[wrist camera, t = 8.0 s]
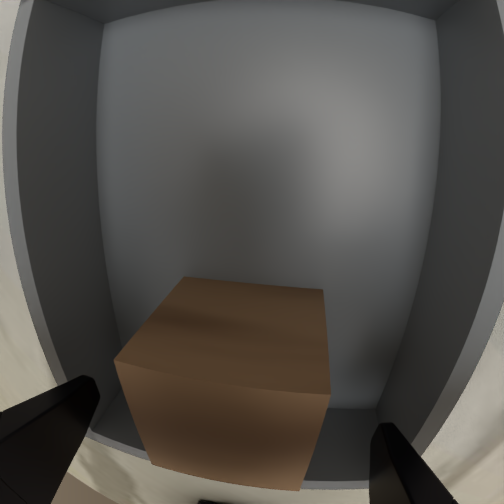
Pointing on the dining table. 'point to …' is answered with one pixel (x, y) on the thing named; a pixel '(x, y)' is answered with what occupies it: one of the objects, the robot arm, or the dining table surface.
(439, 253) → the tote
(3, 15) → the dining table surface
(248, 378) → the walnut cube
